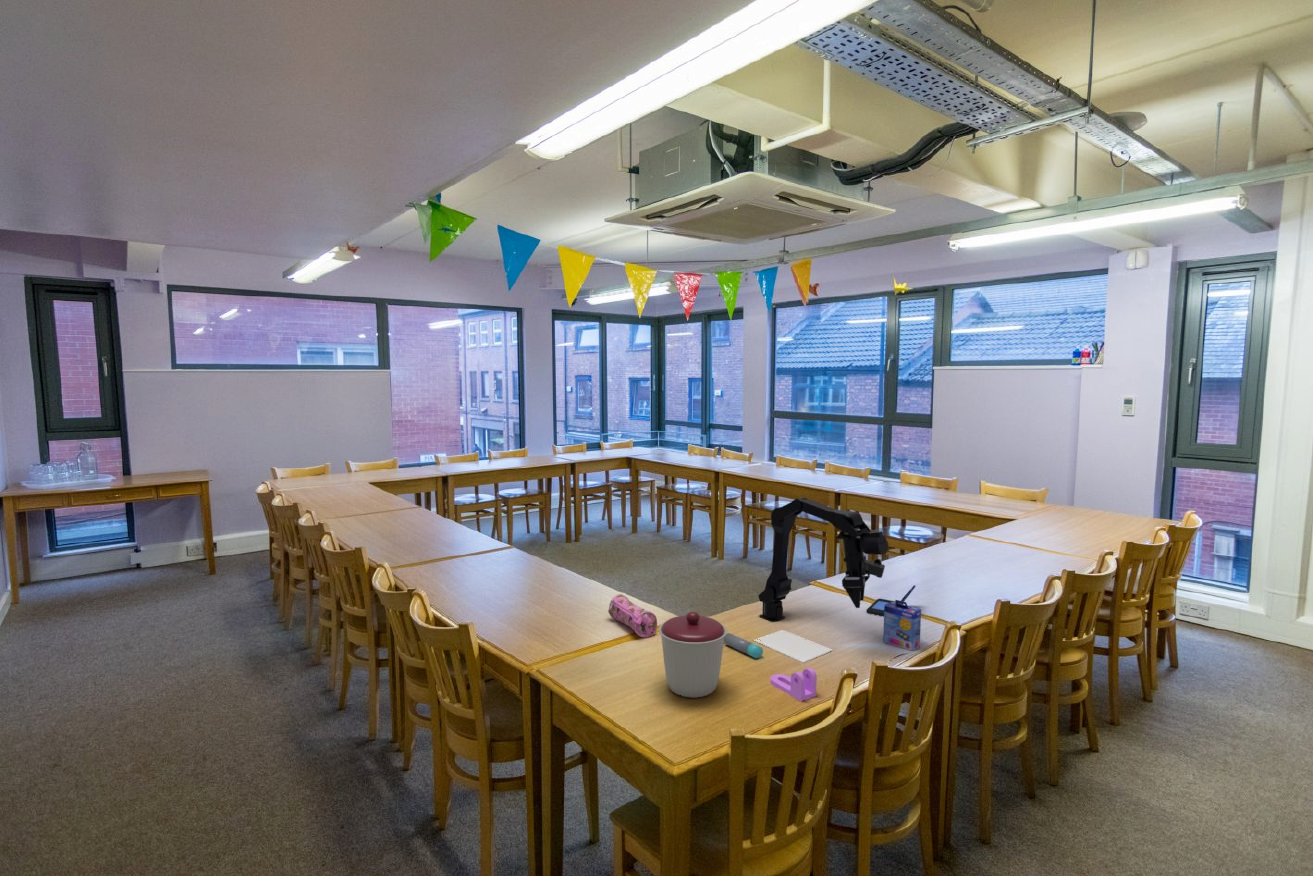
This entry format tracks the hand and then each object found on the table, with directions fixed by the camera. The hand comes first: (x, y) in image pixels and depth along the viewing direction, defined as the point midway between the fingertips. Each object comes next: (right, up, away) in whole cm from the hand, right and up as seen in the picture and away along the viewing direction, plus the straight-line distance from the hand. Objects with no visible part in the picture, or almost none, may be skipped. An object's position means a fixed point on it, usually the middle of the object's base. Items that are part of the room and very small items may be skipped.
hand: (859, 604), depth 196 cm
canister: (-53, -16, -26) cm, 61 cm away
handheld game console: (+22, -12, +33) cm, 41 cm away
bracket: (-27, -16, -25) cm, 40 cm away
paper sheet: (-20, -14, +2) cm, 25 cm away
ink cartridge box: (+14, -14, +4) cm, 20 cm away
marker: (-37, -14, -1) cm, 40 cm away
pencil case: (-71, -13, +16) cm, 74 cm away
